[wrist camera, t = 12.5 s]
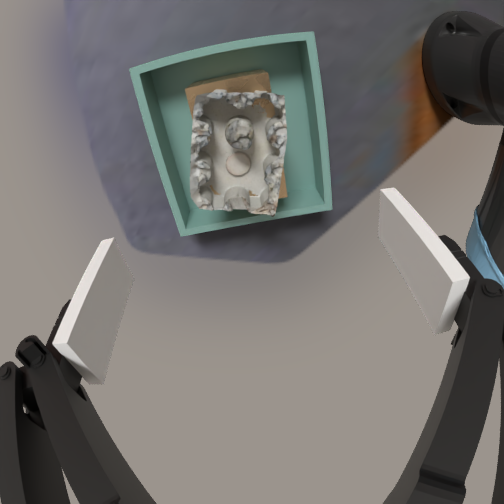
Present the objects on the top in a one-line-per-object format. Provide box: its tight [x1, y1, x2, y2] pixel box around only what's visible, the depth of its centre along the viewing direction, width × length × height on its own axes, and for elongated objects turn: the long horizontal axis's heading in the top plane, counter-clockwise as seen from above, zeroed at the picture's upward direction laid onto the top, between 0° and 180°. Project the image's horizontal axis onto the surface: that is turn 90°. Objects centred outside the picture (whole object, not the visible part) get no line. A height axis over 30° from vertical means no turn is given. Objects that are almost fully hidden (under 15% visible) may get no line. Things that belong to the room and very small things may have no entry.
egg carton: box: [190, 89, 287, 217], centre depth 25 cm, size 11×8×4 cm
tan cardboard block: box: [185, 69, 288, 199], centre depth 29 cm, size 7×12×6 cm, turn 10°
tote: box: [129, 32, 332, 237], centre depth 30 cm, size 17×19×5 cm
